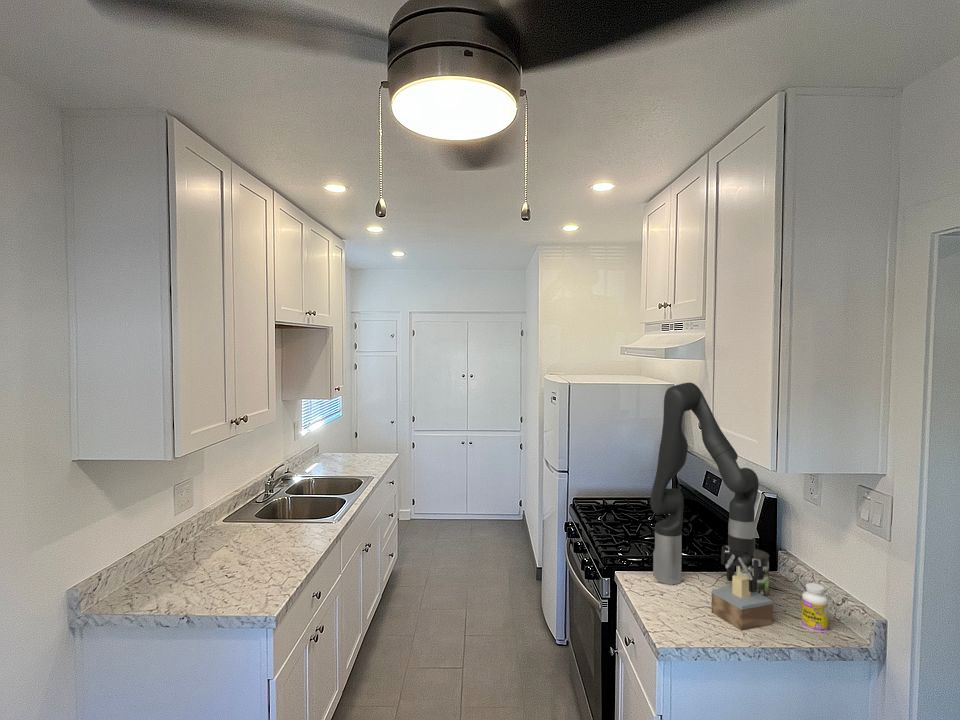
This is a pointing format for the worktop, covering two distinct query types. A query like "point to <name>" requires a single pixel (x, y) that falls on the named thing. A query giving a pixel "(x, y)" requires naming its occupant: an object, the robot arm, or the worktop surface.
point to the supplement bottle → (815, 608)
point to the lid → (741, 594)
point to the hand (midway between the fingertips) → (741, 586)
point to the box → (742, 614)
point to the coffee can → (761, 584)
